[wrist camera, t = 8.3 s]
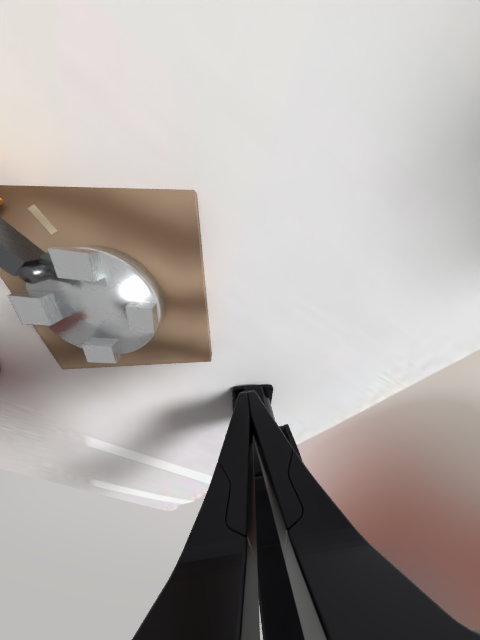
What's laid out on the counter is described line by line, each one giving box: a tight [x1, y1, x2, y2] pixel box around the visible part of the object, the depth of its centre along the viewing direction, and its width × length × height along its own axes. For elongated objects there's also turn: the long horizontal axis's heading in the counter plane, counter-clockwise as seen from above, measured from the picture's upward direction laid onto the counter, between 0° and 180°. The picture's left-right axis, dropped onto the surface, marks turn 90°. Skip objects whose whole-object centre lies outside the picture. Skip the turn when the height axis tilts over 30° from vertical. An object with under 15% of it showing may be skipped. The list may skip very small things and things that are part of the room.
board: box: [0, 185, 212, 369], centre depth 18 cm, size 18×18×2 cm
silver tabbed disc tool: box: [0, 198, 165, 363], centre depth 13 cm, size 19×10×5 cm, turn 36°
